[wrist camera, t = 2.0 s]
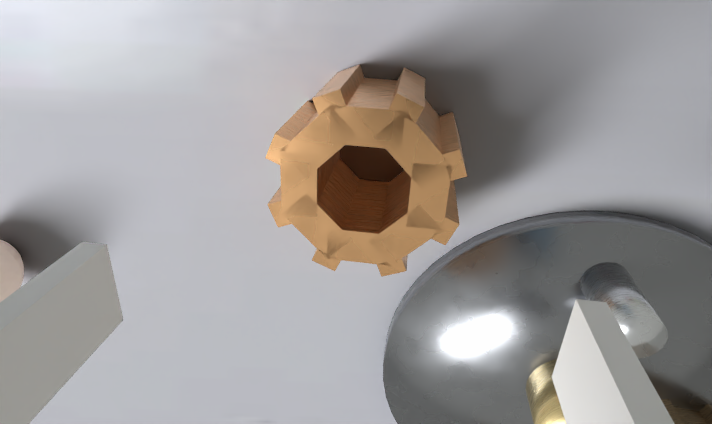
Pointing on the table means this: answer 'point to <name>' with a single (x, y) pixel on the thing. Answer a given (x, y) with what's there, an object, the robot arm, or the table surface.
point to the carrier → (550, 318)
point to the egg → (10, 270)
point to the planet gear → (366, 197)
